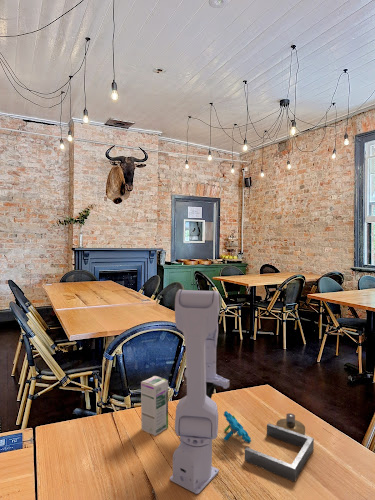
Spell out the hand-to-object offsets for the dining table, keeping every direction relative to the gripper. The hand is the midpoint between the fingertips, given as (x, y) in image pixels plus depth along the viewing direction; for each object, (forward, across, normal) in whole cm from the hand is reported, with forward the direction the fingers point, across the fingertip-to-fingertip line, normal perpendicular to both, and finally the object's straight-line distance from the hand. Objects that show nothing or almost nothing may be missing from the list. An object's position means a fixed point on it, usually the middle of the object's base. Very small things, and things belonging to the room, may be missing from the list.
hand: (206, 405), depth 102 cm
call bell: (+6, -22, -12) cm, 25 cm away
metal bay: (+6, -23, 0) cm, 24 cm away
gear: (+7, -10, 0) cm, 12 cm away
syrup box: (+6, +12, +10) cm, 17 cm away
